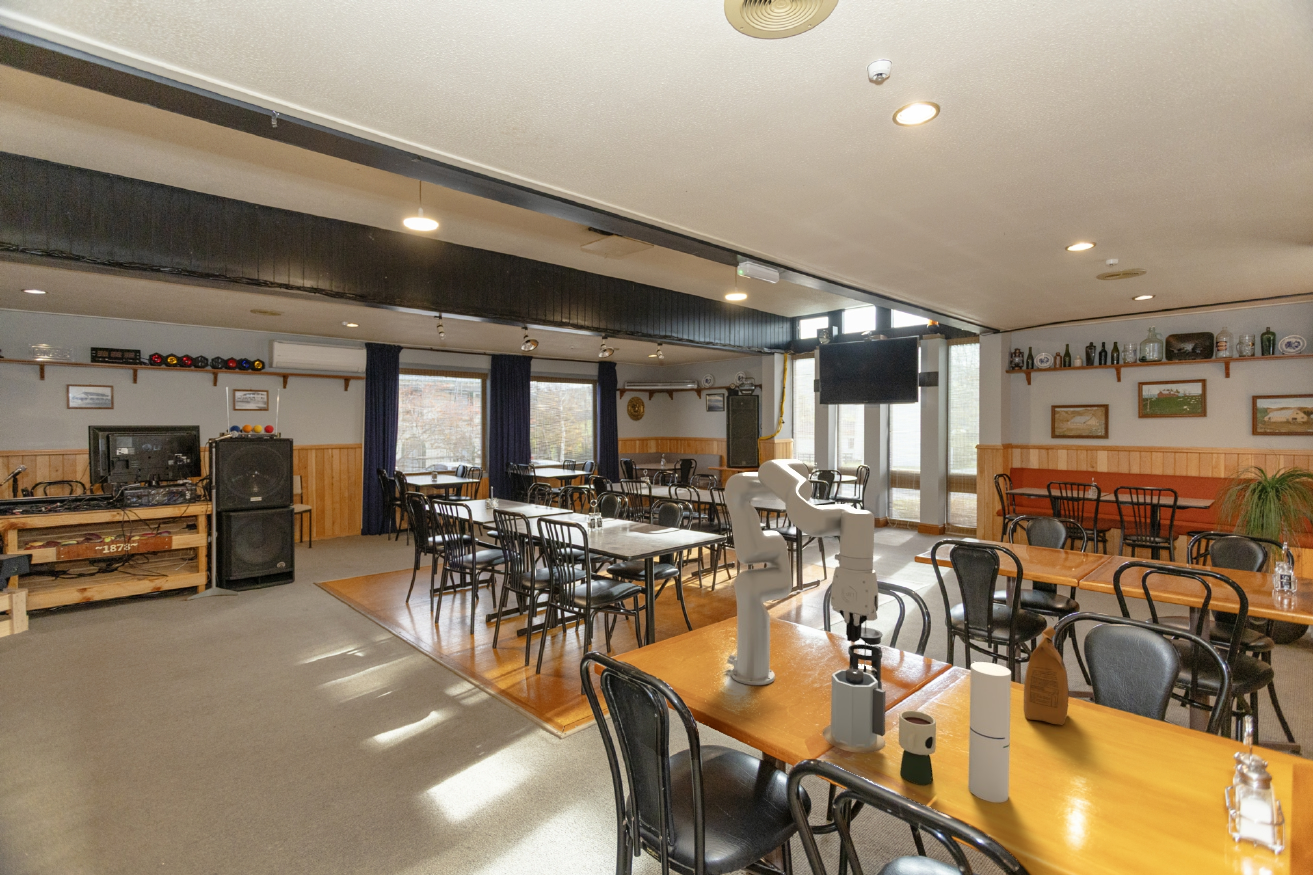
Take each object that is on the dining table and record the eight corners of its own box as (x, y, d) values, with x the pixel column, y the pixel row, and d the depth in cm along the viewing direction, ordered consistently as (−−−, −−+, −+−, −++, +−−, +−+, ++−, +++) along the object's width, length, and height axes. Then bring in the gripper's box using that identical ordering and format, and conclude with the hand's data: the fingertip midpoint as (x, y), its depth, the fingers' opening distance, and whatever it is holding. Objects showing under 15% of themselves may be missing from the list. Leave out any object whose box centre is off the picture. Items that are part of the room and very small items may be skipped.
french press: (867, 703, 164) (869, 617, 163) (838, 691, 171) (839, 609, 171) (893, 693, 171) (894, 610, 170) (863, 681, 178) (864, 602, 178)
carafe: (824, 736, 144) (825, 677, 144) (844, 722, 151) (845, 666, 151) (873, 756, 136) (874, 693, 136) (892, 740, 143) (893, 680, 143)
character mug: (928, 798, 122) (929, 732, 122) (891, 785, 126) (892, 722, 126) (940, 773, 131) (941, 712, 130) (905, 762, 135) (906, 703, 135)
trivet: (811, 739, 144) (811, 736, 144) (840, 719, 154) (840, 717, 154) (868, 762, 135) (868, 759, 135) (895, 739, 145) (895, 737, 145)
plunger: (832, 724, 144) (833, 671, 144) (847, 714, 149) (847, 663, 149) (860, 735, 140) (861, 680, 139) (874, 724, 145) (875, 672, 144)
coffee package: (1072, 713, 159) (1074, 629, 159) (1065, 731, 150) (1067, 641, 149) (1028, 702, 166) (1029, 621, 165) (1019, 718, 156) (1020, 632, 156)
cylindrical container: (961, 782, 127) (963, 662, 127) (993, 780, 128) (996, 661, 128) (982, 803, 120) (984, 676, 120) (1016, 801, 121) (1019, 675, 121)
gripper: (819, 559, 147) (816, 635, 147) (879, 571, 136) (877, 653, 137) (834, 554, 152) (832, 628, 153) (894, 566, 141) (891, 644, 142)
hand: (853, 639), depth 145 cm, fingers closed
